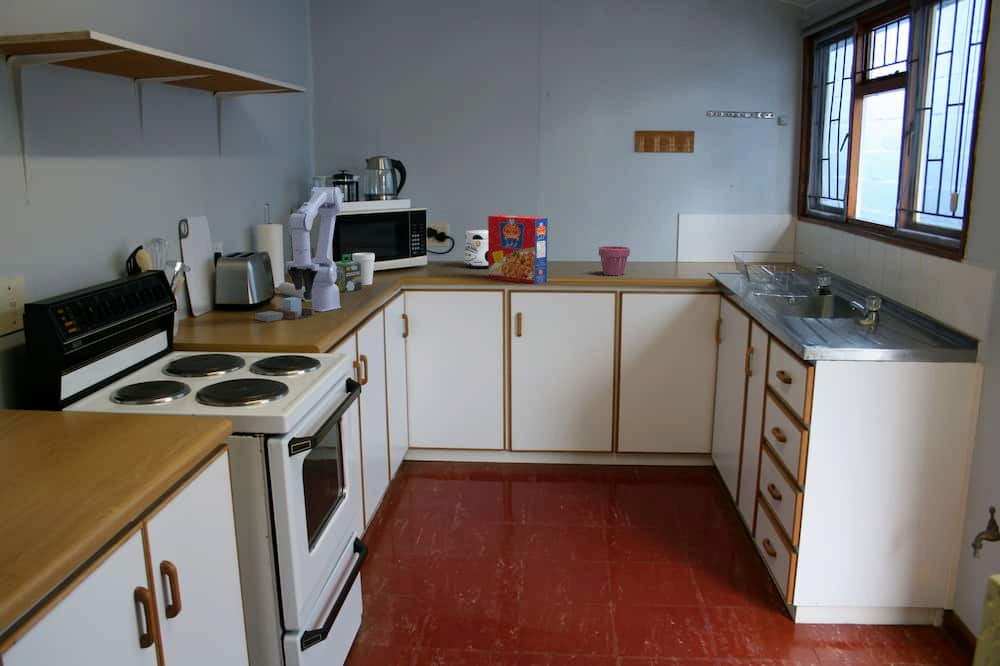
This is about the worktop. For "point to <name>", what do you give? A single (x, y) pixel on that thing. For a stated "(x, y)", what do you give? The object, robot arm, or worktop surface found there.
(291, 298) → the block
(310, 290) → the robot arm
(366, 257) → the foam cup
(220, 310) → the worktop surface
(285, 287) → the tube
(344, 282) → the chalk box
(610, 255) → the plant pot
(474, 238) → the milk container
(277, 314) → the stand
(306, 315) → the channel
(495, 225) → the pasta box
